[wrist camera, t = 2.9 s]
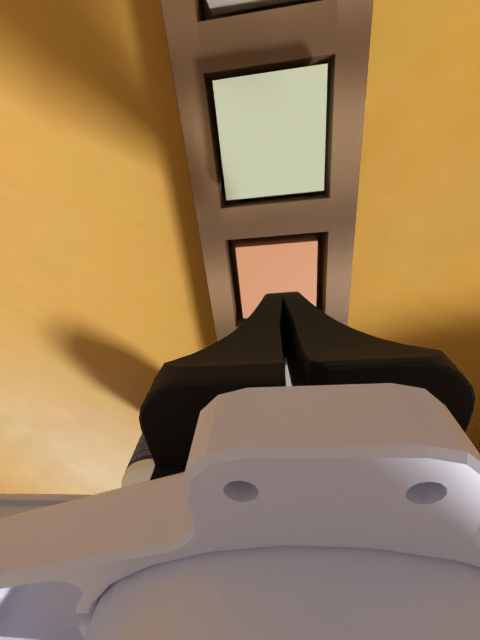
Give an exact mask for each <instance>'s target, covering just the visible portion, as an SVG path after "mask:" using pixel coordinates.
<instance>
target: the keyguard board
mask: <svg viewBox="0 0 480 640" xmlns="http://www.w3.org/2000/svg"><path fill="white" fill-rule="evenodd" d="M161 6H162V12H163V18H164V24H165V30H166V36H167V42H168V48H169V54H170V60H171V66H172V72H173V78H174V84H175V90H176V96H177V102H178V108H179V114H180V120H181V126H182V132H183V138H184V144H185V150H186V157H187V163H188V169H189V175H190V181H191V187H192V193H193V199H194V205H195V211H196V217H197V223H198V229H199V235H200V241H201V247H202V253H203V259H204V265H205V271H206V277H207V283H208V289H209V295H210V301H211V307H212V313H213V319H214V325H215V331H216V337H217V342H218V341H219V340H221V339H223V338H224V337H226V336H228V335H229V334H230V333H232V332H233V331H234V330H236V329H237V328H238V327H239V326H240V325H242V324H243V323H244V321H245V320H246V319H247V318H243V313H242V304H241V295H240V286H239V277H238V268H237V259H236V250H235V247H236V244H237V241H238V239H246V238H257V237H269V236H281V235H292V234H304V233H313V234H314V236H315V237H316V239H317V241H318V251H317V296H316V307H317V308H318V309H319V310H321V311H322V312H324V313H325V314H327V315H328V316H330V317H331V318H333V319H335V320H337V321H338V322H340V323H342V324H344V325H346V326H347V321H348V309H349V296H350V284H351V272H352V259H353V247H354V234H355V222H356V209H357V197H358V185H359V172H360V160H361V147H362V135H363V122H364V110H365V97H366V85H367V73H368V60H369V48H370V35H371V23H372V10H373V0H297V1H291V2H286V3H280V4H274V5H268V6H263V7H257V8H251V9H246V10H240V11H234V12H228V13H223V14H217V15H212V13H211V11H210V8H209V6H208V3H207V0H161ZM327 63H328V72H327V105H326V139H325V172H324V191H314V192H304V193H294V194H285V195H275V196H265V197H255V198H245V199H235V200H226V193H225V184H224V176H223V167H222V159H221V150H220V142H219V133H218V124H217V116H216V107H215V99H214V90H213V82H212V81H213V80H220V79H227V78H233V77H240V76H247V75H253V74H260V73H267V72H274V71H280V70H287V69H294V68H300V67H307V66H314V65H320V64H327Z"/></svg>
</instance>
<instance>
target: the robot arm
mask: <svg viewBox="0 0 480 640" xmlns="http://www.w3.org/2000/svg"><path fill="white" fill-rule="evenodd" d="M286 361H287V366H288V371H289V375H290V380H291V384H292V386H286V376H285V363H286ZM474 403H475V396H474V392H473V388H472V386H471V384H470V383H469V382H468V380H467V379H466V378H465V376H464V375H463V374H462V373H461V372H460V371H459V370H458V368H457V367H456V366H455V365H454V364H453V363H452V362H451V361H450V360H449V359H448V357H447V356H446V355H445V354H444V353H443V352H441V351H439V350H433V349H427V348H421V347H415V346H409V345H404V344H400V343H396V342H392V341H388V340H384V339H381V338H377V337H374V336H371V335H368V334H366V333H363V332H360V331H357V330H355V329H353V328H350V327H348V326H346V325H344V324H342V323H340V322H338V321H337V320H335V319H333V318H331V317H330V316H328V315H327V314H325V313H324V312H322V311H321V310H319V309H318V308H317V307H316V306H314V305H313V304H312V303H311V302H309V301H308V300H307V299H306V298H305V297H304V296H303V295H301V294H300V293H299V292H298V291H297V292H283V293H269V294H266V295H265V296H264V297H263V299H262V300H261V302H260V303H259V305H258V306H257V307H256V309H255V310H254V311H253V313H252V314H251V315H250V316H249V317H248V318H247V319H246V320H245V321H244V323H243V324H242V325H240V326H239V327H238V328H237V329H236V330H234V331H233V332H232V333H230V334H229V335H228V336H226V337H224V338H223V339H221V340H219V341H218V342H216V343H215V344H213V345H211V346H209V347H207V348H205V349H203V350H200V351H198V352H196V353H193V354H191V355H188V356H185V357H182V358H179V359H176V360H173V361H170V362H166V363H164V365H163V366H162V368H161V370H160V371H159V373H158V374H157V376H156V378H155V380H154V382H153V384H152V386H151V388H150V390H149V392H148V394H147V396H146V398H145V400H144V402H143V404H142V406H141V409H140V415H139V421H140V426H141V430H142V433H143V435H144V438H145V440H146V443H147V446H148V448H149V451H150V453H151V456H152V459H153V461H154V464H155V467H154V470H153V473H152V475H151V478H150V481H146V482H142V483H138V484H135V485H131V486H127V487H123V488H119V489H115V490H111V491H107V492H103V493H99V494H95V495H66V494H0V640H480V453H479V452H478V451H477V449H476V448H475V446H474V445H473V444H472V442H471V441H470V439H469V438H468V437H467V435H466V434H465V432H466V429H467V427H468V424H469V421H470V418H471V416H472V413H473V409H474Z"/></svg>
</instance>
